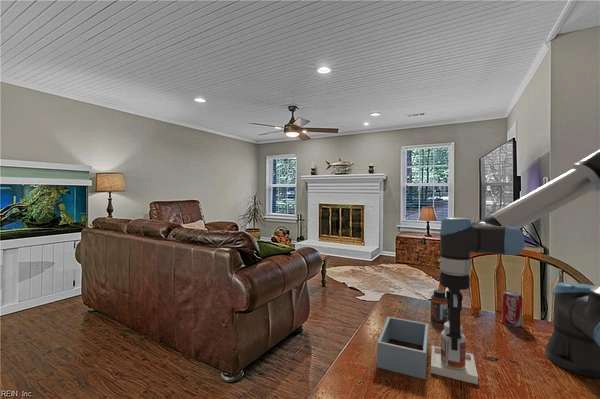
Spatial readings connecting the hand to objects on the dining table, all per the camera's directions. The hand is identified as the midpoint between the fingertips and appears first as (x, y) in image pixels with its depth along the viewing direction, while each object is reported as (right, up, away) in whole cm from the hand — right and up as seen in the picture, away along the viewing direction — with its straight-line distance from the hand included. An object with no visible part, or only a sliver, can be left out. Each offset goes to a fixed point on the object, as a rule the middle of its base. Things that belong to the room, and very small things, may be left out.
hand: (453, 351), depth 83 cm
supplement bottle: (+11, -4, +32) cm, 34 cm away
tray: (0, -4, 0) cm, 4 cm away
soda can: (+37, -5, +28) cm, 47 cm away
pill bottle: (0, -4, 0) cm, 4 cm away
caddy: (-12, -4, +6) cm, 14 cm away
